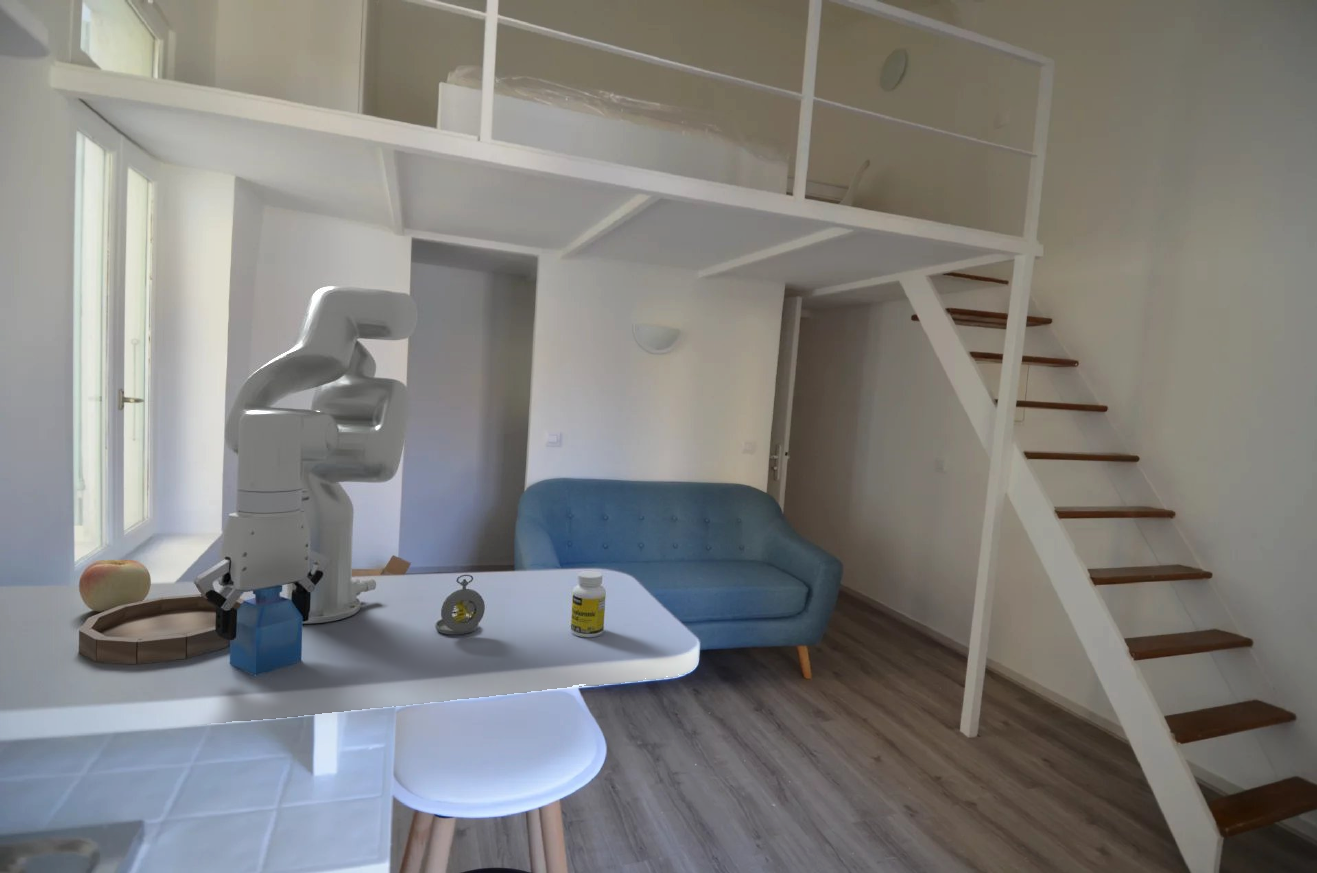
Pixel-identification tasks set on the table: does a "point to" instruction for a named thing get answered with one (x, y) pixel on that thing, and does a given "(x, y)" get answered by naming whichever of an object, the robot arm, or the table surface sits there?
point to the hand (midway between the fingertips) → (264, 628)
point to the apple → (114, 584)
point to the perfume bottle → (266, 633)
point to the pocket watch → (461, 611)
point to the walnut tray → (153, 631)
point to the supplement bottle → (588, 605)
